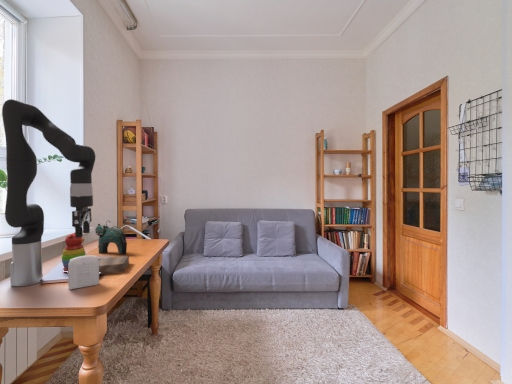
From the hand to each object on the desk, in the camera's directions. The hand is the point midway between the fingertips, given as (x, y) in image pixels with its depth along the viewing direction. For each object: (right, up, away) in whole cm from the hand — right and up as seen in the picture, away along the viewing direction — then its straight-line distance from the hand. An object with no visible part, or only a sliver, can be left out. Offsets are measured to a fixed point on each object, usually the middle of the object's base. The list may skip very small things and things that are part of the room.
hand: (82, 234), depth 102 cm
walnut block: (-1, -20, +21) cm, 29 cm away
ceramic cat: (-17, -20, +50) cm, 56 cm away
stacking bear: (-18, -21, +20) cm, 34 cm away
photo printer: (0, -21, +1) cm, 21 cm away
